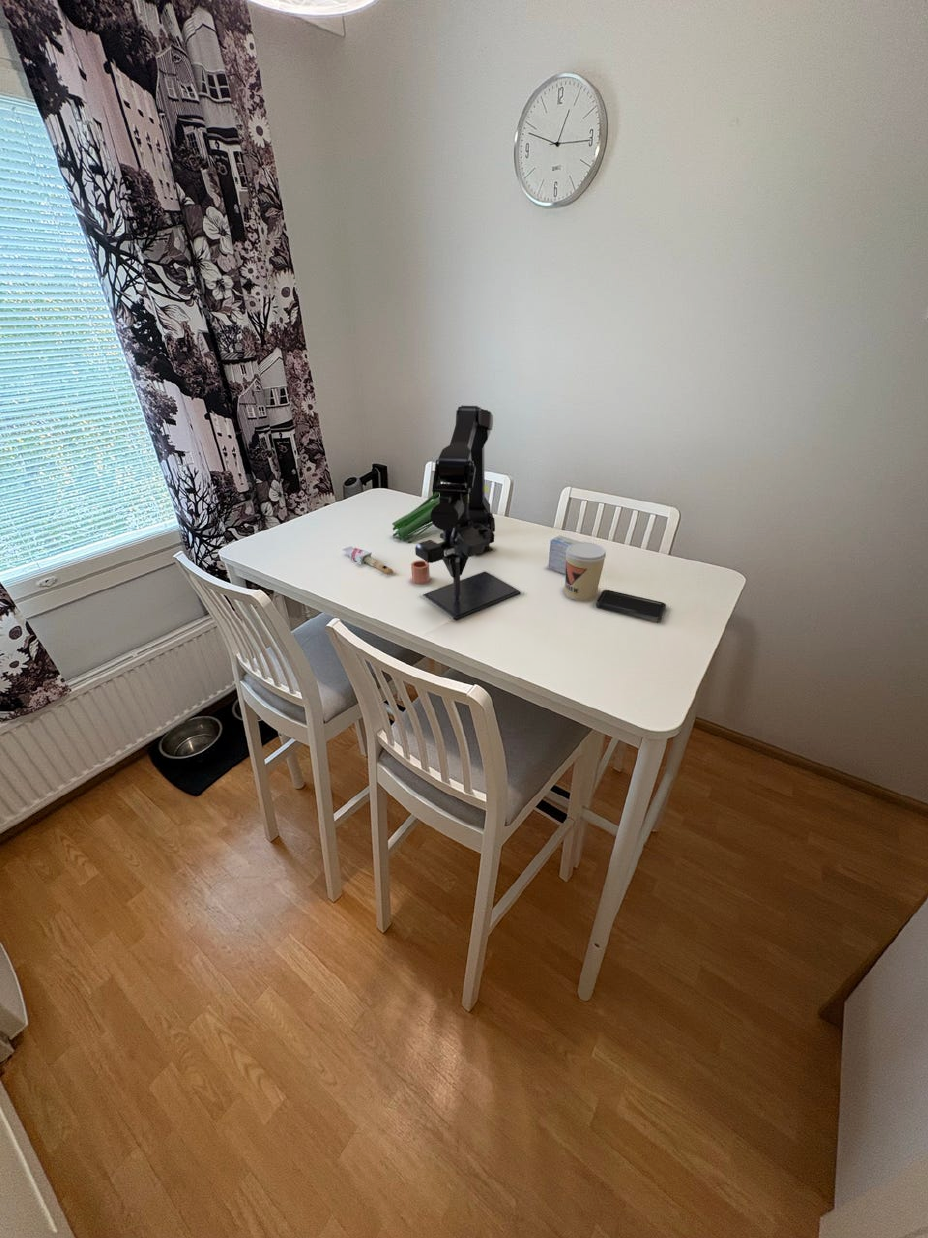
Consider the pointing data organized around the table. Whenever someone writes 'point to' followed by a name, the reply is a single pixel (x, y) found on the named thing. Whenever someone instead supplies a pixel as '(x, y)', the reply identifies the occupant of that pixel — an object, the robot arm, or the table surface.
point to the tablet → (472, 595)
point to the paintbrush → (366, 559)
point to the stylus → (457, 579)
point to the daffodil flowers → (417, 519)
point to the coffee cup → (583, 570)
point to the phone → (631, 605)
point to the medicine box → (559, 553)
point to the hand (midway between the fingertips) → (456, 576)
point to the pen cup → (420, 572)
